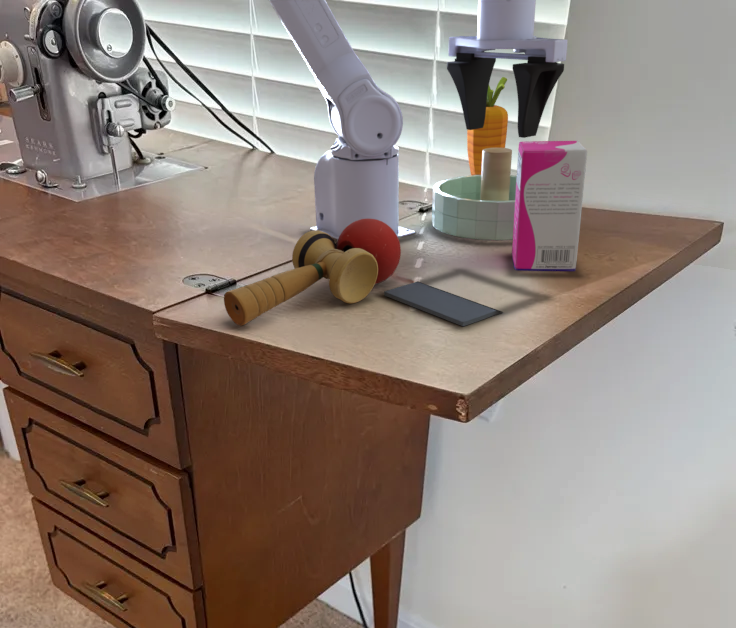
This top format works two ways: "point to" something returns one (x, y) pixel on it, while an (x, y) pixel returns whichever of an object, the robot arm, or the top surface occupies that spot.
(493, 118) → the carrot
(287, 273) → the kendama
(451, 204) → the bowl
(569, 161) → the supplement box
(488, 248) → the top surface
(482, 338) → the top surface
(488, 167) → the birch peg
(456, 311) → the felt mat
